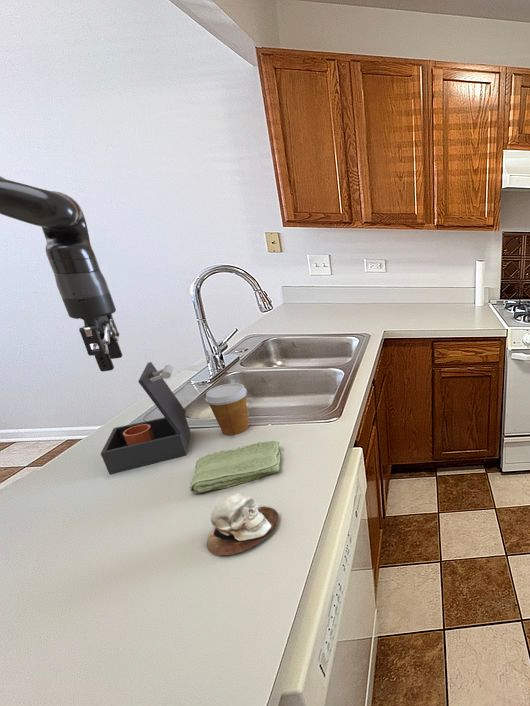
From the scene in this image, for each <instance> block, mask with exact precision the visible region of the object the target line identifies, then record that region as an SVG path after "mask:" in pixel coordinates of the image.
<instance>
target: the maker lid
mask: <svg viewBox="0 0 530 706" xmlns="http://www.w3.org/2000/svg"><path fill="white" fill-rule="evenodd" d="M173 372H174V366H173V365H171V364H166V365H164V367H163V368H162V369H159V370H157V368H156V366H155V365H154V364H153V362H152V361H149V362H147V363H146V365H145V367H144V369H143V371H142V373H141V375H140V377H139V379H138V383H139V385H140V386H141V388H142V389H143V390H144V392H145V393H146V394H147V395H148V397H149V399H150V400H151V401H152V403H154V406H156V407H157V409H158V410H159V412H160V413H161V414H162V416H163V418H164V417H165V418H166V420H167V421H168V422H169V424H170V425H171V426H172V428H173V429H174V430H175V432H176V433H177V434H179V433H181V430H182V425H183V421H184V416H186V409H185V408H184V406H183V405H182V403H180V401H179V399H178V398H177V397H176V395H175V394H174V392H173V391H172V390H171V388H170V387H169V385H168V384H167V382H166V381H165V380H167V379H170V378H171V377H172V374H173ZM164 379H165V380H164Z"/></svg>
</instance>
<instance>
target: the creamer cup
mask: <svg viewBox="0 0 530 706" xmlns="http://www.w3.org/2000/svg"><path fill="white" fill-rule="evenodd" d="M123 435H124V438H125V440H126V443H127V445H128V446H129V445H134V444H138V443H142V442H147V441H151V440H155V437H154V434H153V431H152V429H151V426H150V425H148V424H142V425H137V426H133V427H131V428H129V429H127V430H125V431H124V432H123Z"/></svg>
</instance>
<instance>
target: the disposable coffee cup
mask: <svg viewBox="0 0 530 706" xmlns="http://www.w3.org/2000/svg"><path fill="white" fill-rule="evenodd" d="M247 393H248V390H247V388H246V387H245V386H244V385H243V384H242V383H237V382H235V383H234V382H233V383H225V384H221V385H217V386H215V387H212V388H210V389H209V390H208V391H207V392H206V393H205V398H204V400H205V402H206V403H207V404H208V405H209V407H210V409H211V411H212V414H213V416H214V418H215V420H216V422H217V424H218V427H219V428H220V430H221V433H222V434H223V435H225V436H236V435H239V434H241V433H243V432H245V431H247V430H248V429H249V426H250V425H249V414H248V405H247V404H248V403H247Z"/></svg>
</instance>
